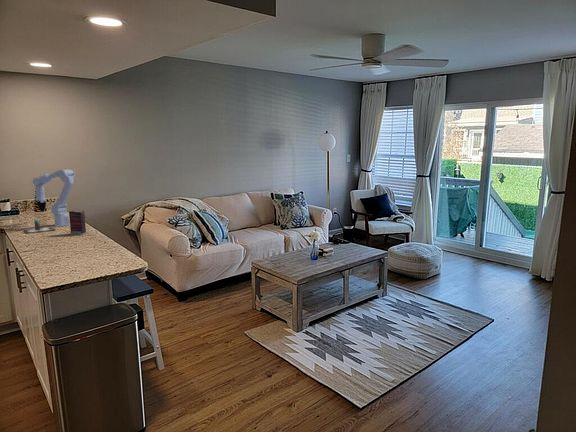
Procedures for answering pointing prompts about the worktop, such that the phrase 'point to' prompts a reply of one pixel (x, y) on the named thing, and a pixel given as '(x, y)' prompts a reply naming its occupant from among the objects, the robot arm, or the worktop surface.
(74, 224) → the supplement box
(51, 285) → the worktop surface
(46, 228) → the clipboard
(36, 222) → the marker
